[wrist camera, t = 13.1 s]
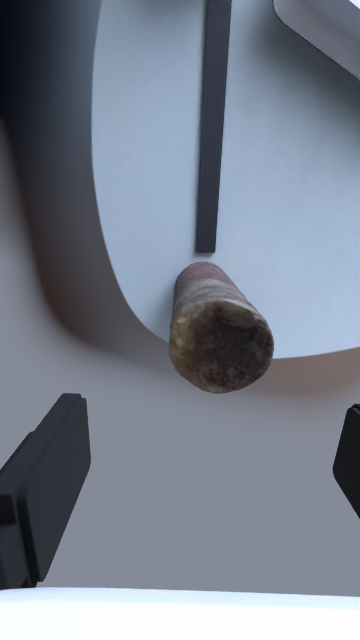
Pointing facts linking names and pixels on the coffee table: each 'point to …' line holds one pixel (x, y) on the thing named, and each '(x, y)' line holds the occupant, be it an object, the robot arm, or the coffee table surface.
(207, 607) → the robot arm
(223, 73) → the strip
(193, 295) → the brown weathered cylinder
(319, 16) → the white flat lidded device
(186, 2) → the coffee table surface
